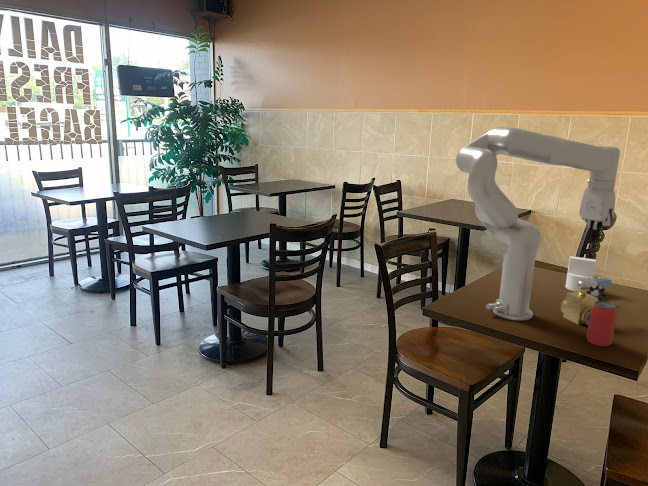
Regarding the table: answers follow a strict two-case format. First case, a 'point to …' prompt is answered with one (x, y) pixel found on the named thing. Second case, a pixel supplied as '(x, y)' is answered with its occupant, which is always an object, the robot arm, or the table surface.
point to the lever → (594, 283)
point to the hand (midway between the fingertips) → (592, 240)
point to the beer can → (601, 323)
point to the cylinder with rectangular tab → (579, 272)
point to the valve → (596, 290)
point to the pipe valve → (578, 306)
